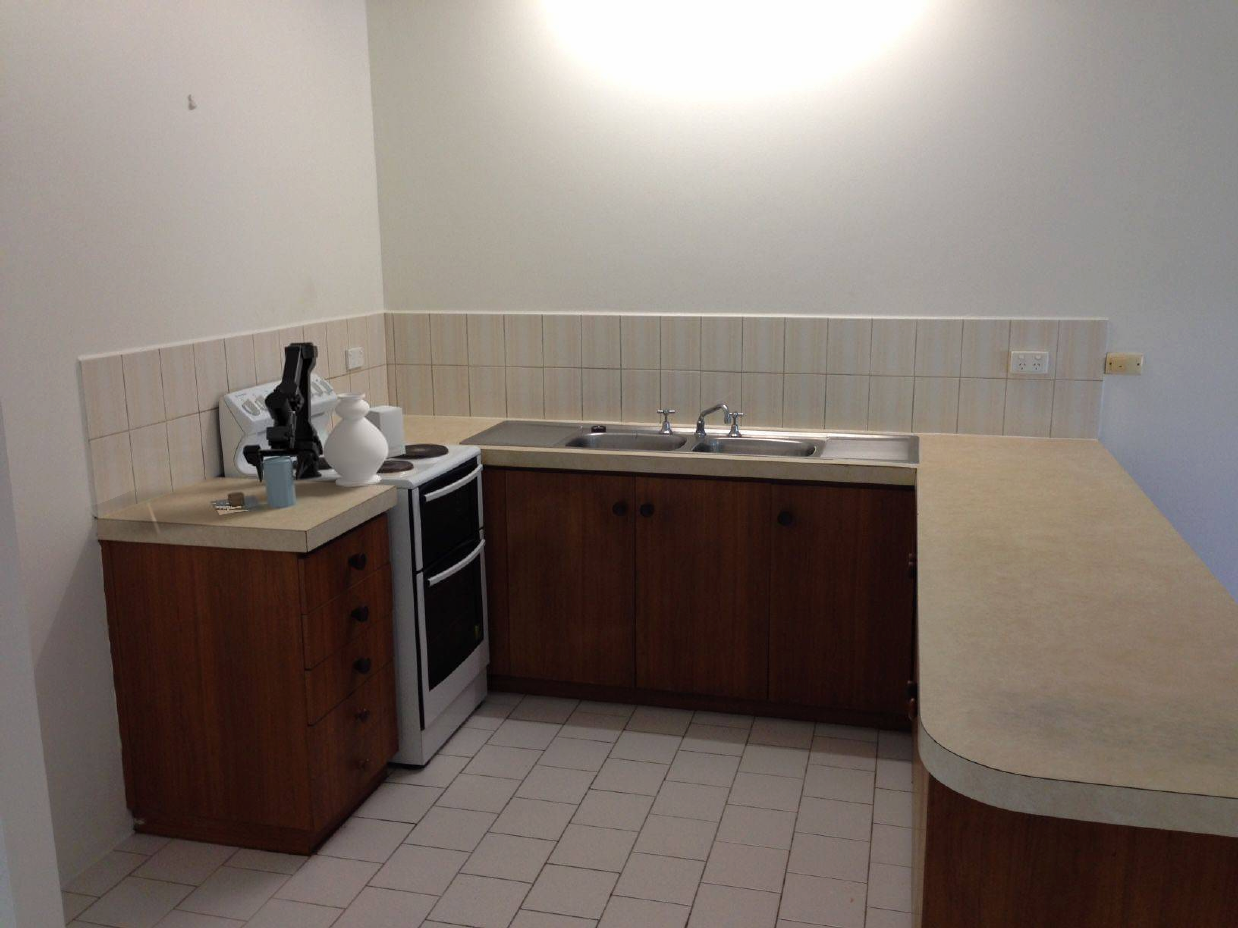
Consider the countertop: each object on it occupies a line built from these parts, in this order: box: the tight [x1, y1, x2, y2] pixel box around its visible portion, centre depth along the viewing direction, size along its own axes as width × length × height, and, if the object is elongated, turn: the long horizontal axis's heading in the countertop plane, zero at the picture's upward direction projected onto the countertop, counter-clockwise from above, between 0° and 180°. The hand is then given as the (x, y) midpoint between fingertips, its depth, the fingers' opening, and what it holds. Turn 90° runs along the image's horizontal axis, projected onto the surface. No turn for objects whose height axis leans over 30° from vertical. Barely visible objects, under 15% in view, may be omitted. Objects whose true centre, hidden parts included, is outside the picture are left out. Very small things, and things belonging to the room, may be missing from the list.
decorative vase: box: [323, 391, 388, 488], centre depth 306 cm, size 18×18×25 cm
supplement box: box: [364, 404, 406, 459], centre depth 339 cm, size 9×9×15 cm
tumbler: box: [263, 456, 297, 509], centre depth 284 cm, size 7×7×12 cm
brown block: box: [227, 491, 245, 507], centre depth 285 cm, size 4×4×3 cm
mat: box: [210, 495, 264, 514], centre depth 286 cm, size 16×11×1 cm
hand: (278, 480), depth 283 cm, fingers open, 9 cm apart
